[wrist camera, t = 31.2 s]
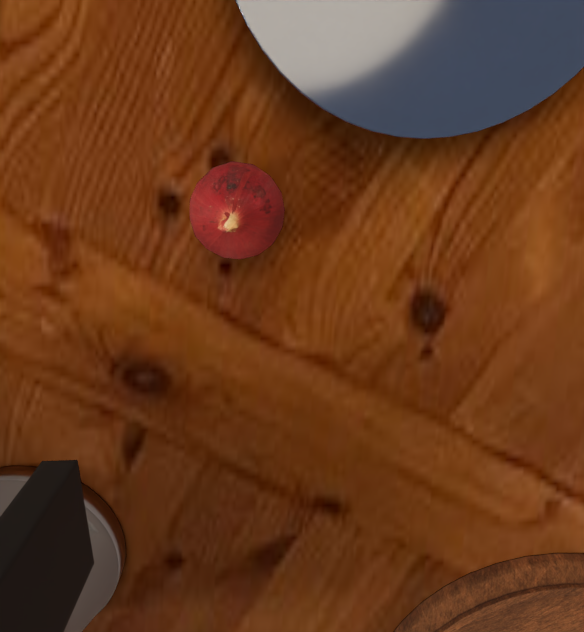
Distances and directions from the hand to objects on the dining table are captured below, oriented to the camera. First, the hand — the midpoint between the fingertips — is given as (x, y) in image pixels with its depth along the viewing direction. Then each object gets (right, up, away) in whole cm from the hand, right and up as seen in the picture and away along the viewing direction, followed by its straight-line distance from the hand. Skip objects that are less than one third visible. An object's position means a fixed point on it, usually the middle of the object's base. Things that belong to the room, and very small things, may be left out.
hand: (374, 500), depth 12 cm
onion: (-5, +12, +25) cm, 28 cm away
